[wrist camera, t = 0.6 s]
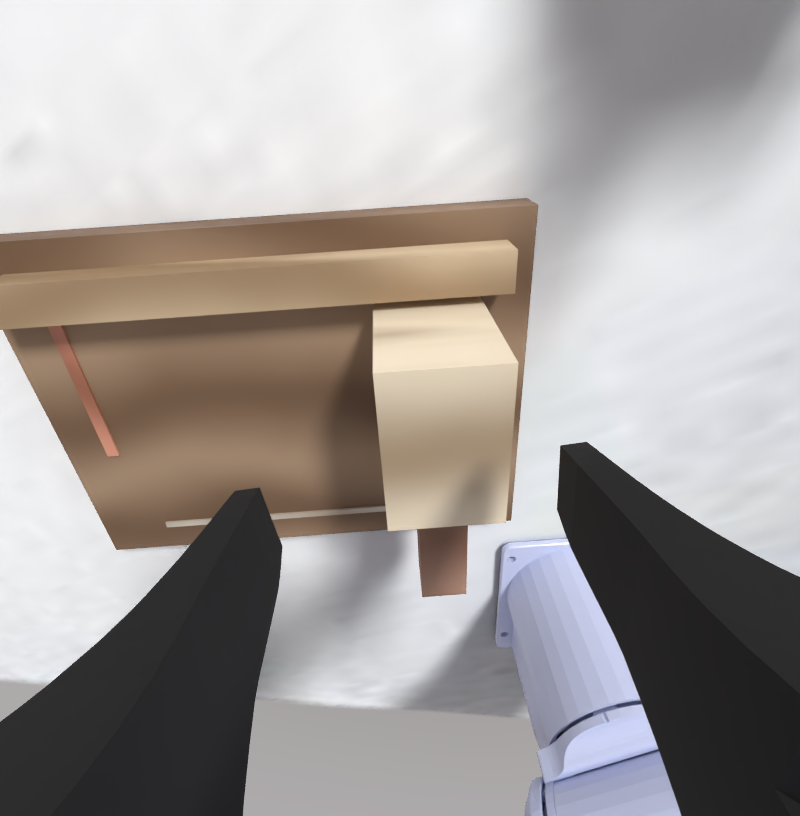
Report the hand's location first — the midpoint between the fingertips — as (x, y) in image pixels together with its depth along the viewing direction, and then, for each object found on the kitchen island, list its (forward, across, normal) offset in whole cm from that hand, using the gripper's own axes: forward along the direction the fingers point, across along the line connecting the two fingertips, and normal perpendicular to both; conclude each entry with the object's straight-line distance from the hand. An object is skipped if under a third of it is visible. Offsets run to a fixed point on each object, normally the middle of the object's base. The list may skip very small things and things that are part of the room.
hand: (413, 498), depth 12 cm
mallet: (+9, -1, +4) cm, 10 cm away
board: (+10, +5, +2) cm, 12 cm away
